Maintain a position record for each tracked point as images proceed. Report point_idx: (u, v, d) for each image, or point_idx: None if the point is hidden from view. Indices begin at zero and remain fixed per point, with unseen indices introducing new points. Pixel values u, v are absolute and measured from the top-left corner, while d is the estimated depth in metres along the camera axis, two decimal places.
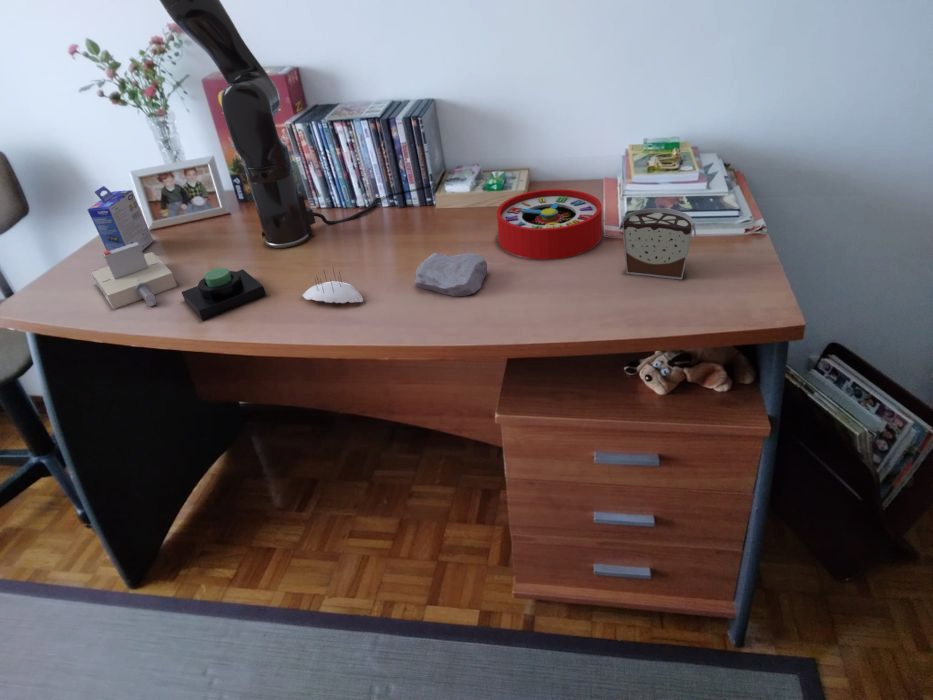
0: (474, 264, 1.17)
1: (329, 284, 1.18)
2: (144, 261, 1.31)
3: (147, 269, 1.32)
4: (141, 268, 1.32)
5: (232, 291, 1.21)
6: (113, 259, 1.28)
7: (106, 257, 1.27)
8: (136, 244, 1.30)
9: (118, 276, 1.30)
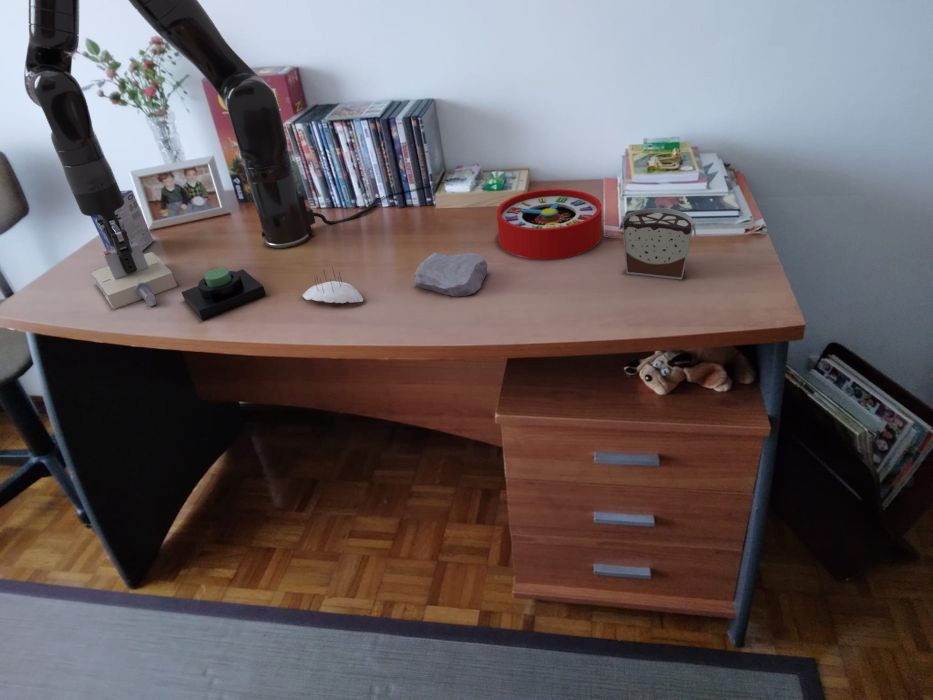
0: (474, 264, 1.17)
1: (329, 284, 1.18)
2: (144, 261, 1.31)
3: (147, 269, 1.32)
4: (141, 268, 1.32)
5: (232, 291, 1.21)
6: (113, 259, 1.28)
7: (106, 257, 1.27)
8: (136, 244, 1.30)
9: (118, 276, 1.30)
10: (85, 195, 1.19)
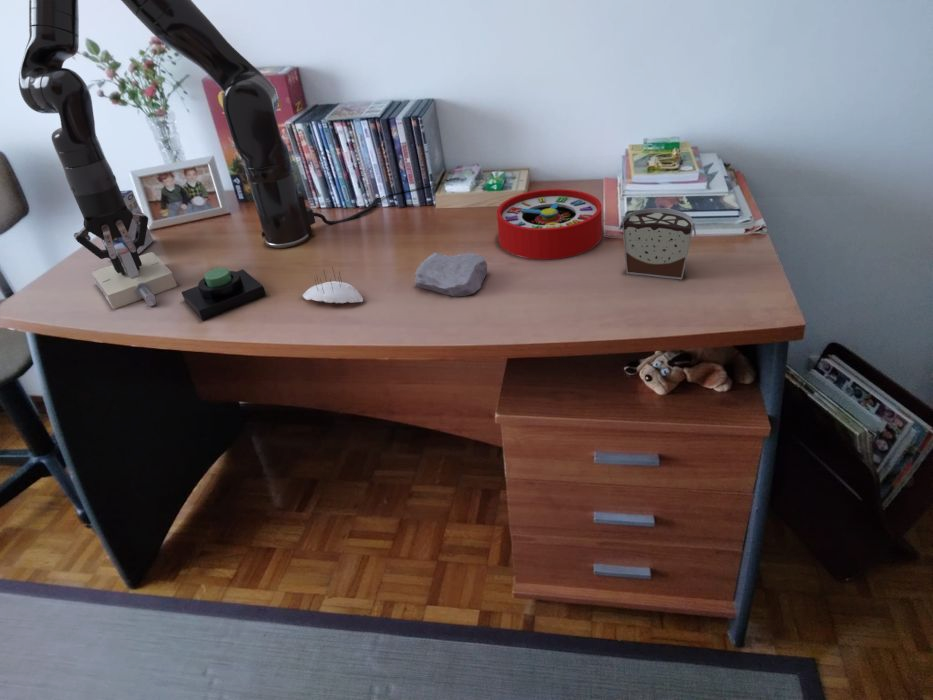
0: (474, 264, 1.17)
1: (329, 284, 1.18)
2: None
3: (147, 269, 1.32)
4: None
5: (232, 291, 1.21)
6: None
7: (130, 253, 1.27)
8: (119, 243, 1.31)
9: None
10: (115, 187, 1.22)
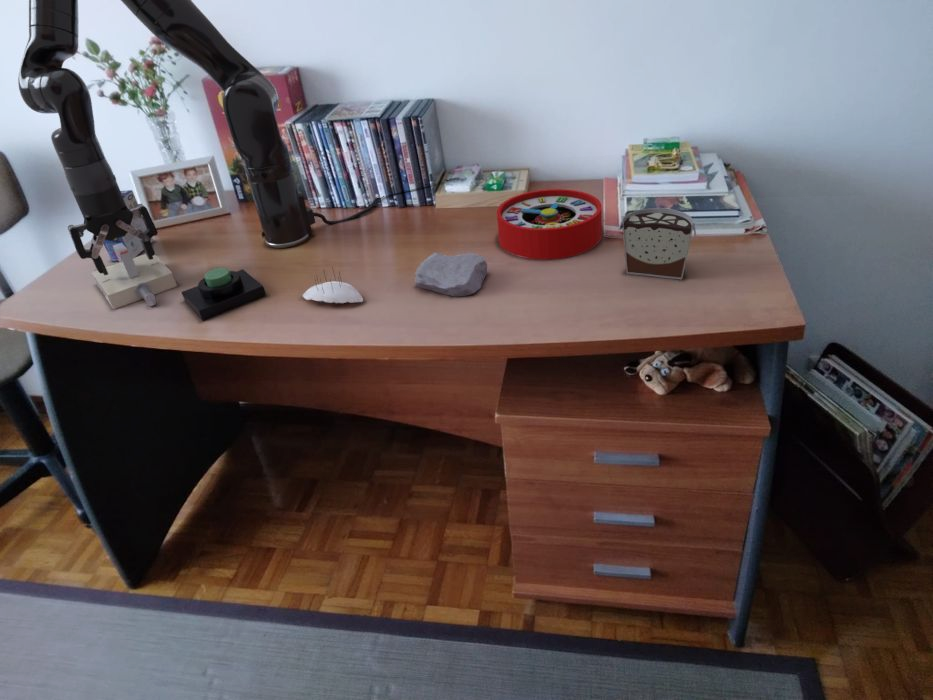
0: (474, 264, 1.17)
1: (329, 284, 1.18)
2: None
3: (147, 269, 1.32)
4: None
5: (232, 291, 1.21)
6: None
7: (130, 253, 1.27)
8: (119, 243, 1.31)
9: None
10: (115, 187, 1.22)
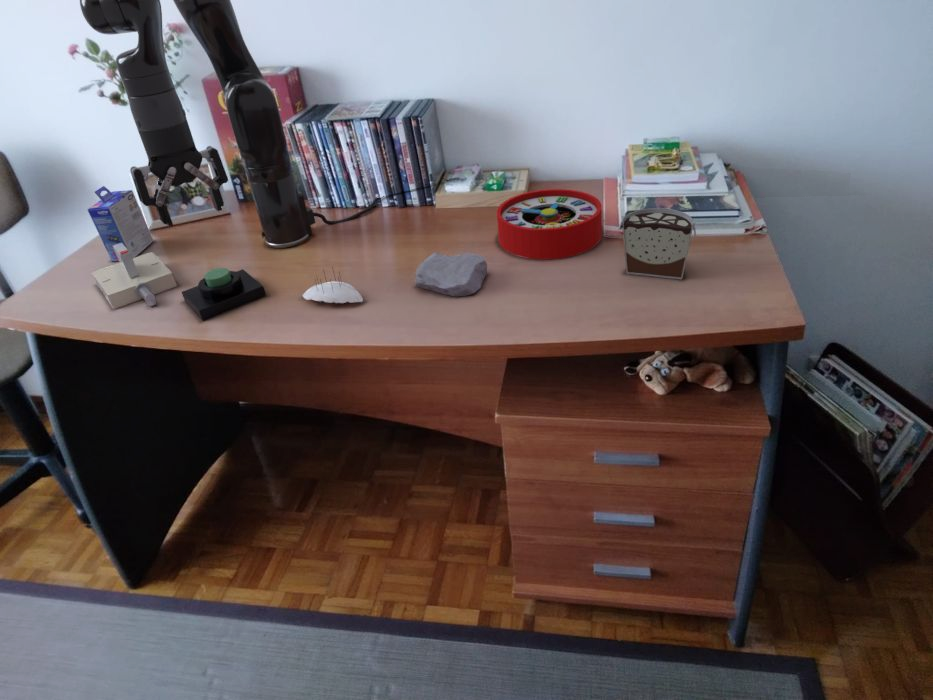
0: (474, 264, 1.17)
1: (329, 284, 1.18)
2: None
3: (147, 269, 1.32)
4: None
5: (232, 291, 1.21)
6: None
7: (130, 253, 1.27)
8: (119, 243, 1.31)
9: None
10: (185, 123, 1.07)
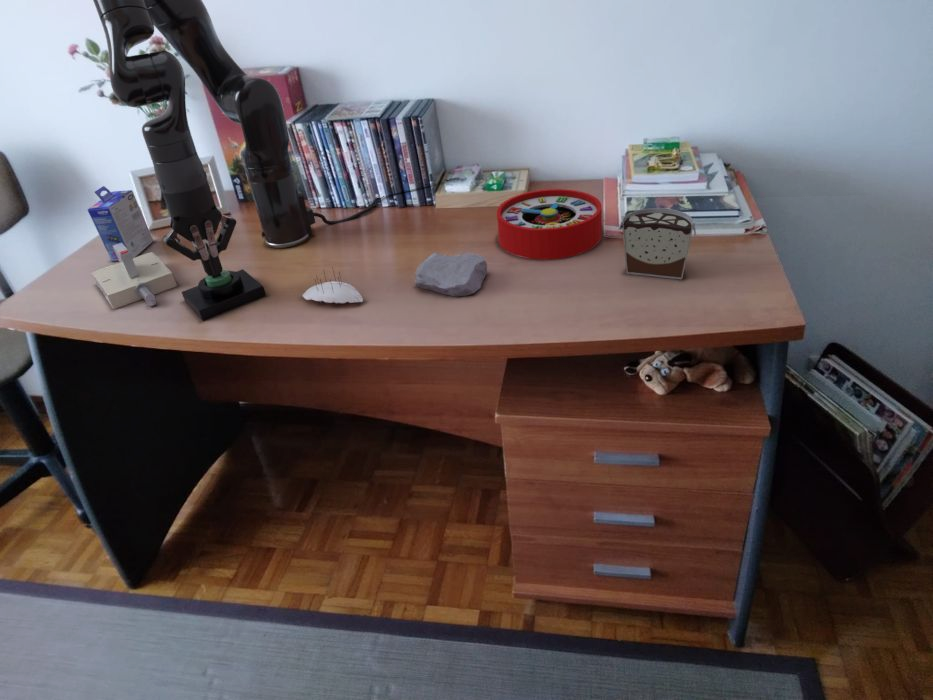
0: (474, 264, 1.17)
1: (329, 284, 1.18)
2: None
3: (147, 269, 1.32)
4: None
5: (232, 291, 1.21)
6: None
7: (130, 253, 1.27)
8: (119, 243, 1.31)
9: None
10: (206, 184, 1.12)
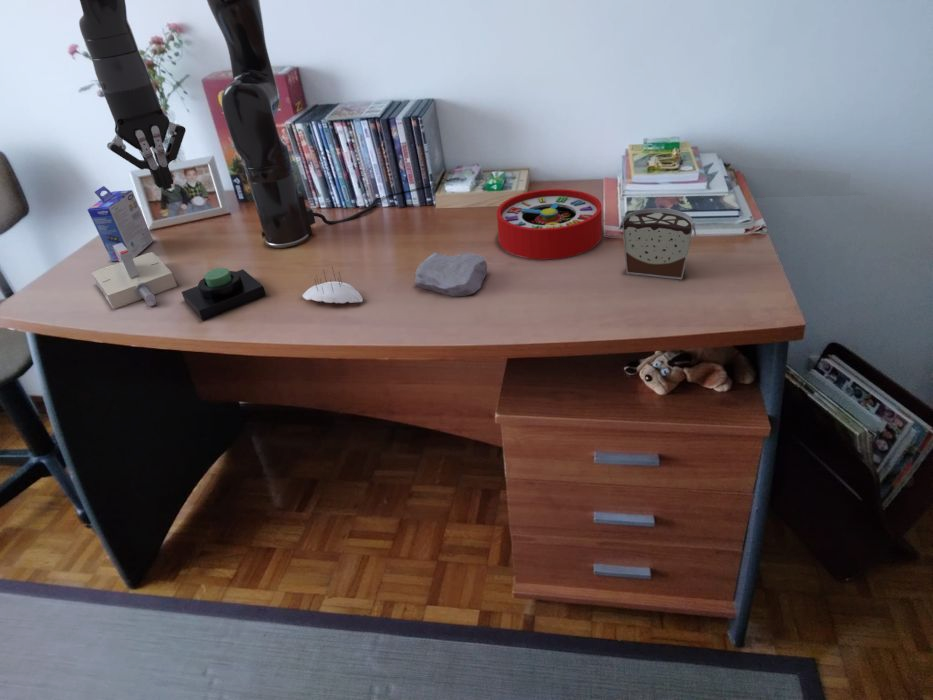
0: (474, 264, 1.17)
1: (329, 284, 1.18)
2: None
3: (147, 269, 1.32)
4: None
5: (232, 291, 1.21)
6: None
7: (130, 253, 1.27)
8: (119, 243, 1.31)
9: None
10: (151, 85, 1.08)
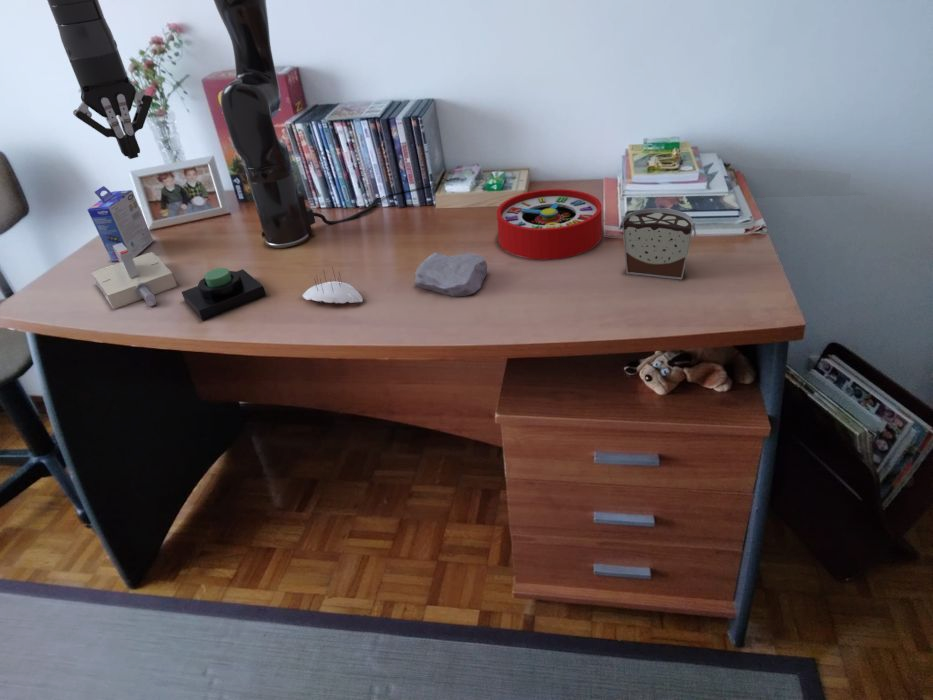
0: (474, 264, 1.17)
1: (329, 284, 1.18)
2: None
3: (147, 269, 1.32)
4: None
5: (232, 291, 1.21)
6: None
7: (130, 253, 1.27)
8: (119, 243, 1.31)
9: None
10: (116, 53, 1.09)
